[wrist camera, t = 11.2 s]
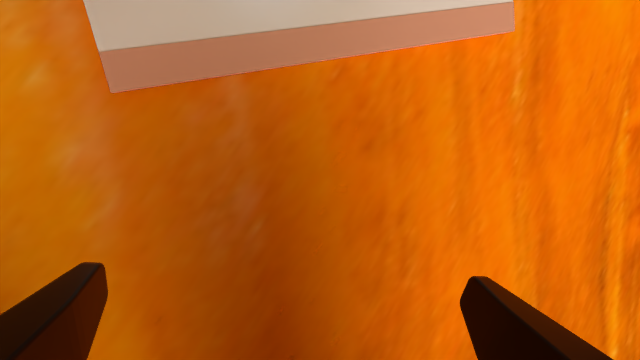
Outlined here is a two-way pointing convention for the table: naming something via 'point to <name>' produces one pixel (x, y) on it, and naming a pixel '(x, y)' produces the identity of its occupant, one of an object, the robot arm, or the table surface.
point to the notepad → (270, 33)
